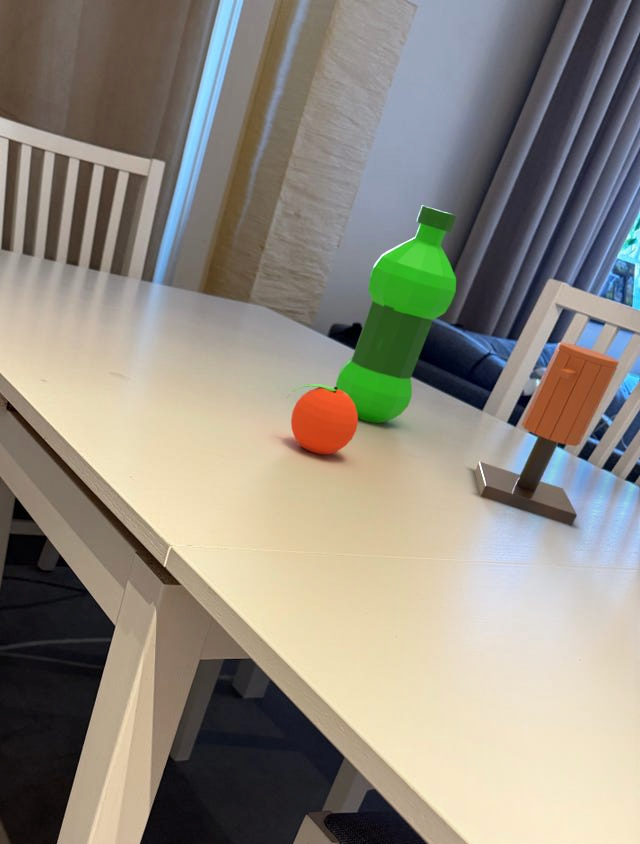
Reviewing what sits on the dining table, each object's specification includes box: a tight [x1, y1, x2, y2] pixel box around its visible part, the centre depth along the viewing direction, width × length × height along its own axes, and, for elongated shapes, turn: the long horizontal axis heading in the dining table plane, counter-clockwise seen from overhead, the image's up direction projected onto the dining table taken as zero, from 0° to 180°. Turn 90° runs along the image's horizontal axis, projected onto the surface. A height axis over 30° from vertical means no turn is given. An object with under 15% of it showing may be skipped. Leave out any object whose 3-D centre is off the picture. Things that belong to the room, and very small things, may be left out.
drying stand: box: [474, 435, 578, 526], centre depth 100 cm, size 10×10×16 cm
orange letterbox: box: [520, 341, 620, 447], centre depth 97 cm, size 9×6×9 cm
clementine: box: [286, 383, 359, 455], centre depth 97 cm, size 8×7×7 cm
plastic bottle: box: [335, 205, 457, 424], centre depth 113 cm, size 10×10×25 cm
